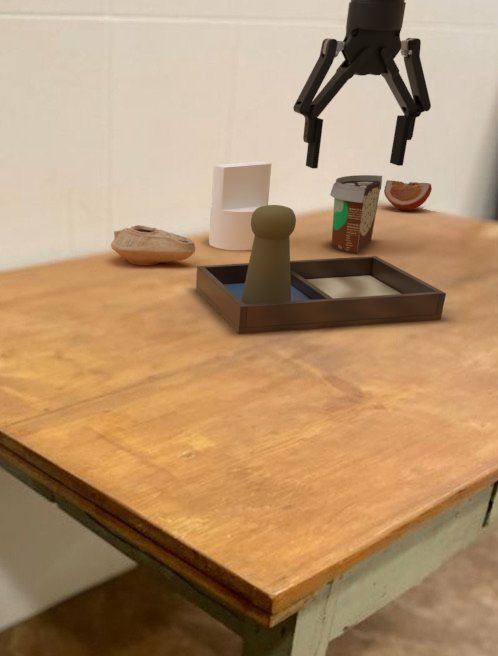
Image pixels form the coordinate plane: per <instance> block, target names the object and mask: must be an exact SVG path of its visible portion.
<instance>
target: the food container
mask: <svg viewBox="0 0 498 656" xmlns="http://www.w3.org/2000/svg"><path fill="white" fill-rule="evenodd" d="M382 184H383V175H377V174H376V175H373V174H358V175H355V174H354V175H346V176H345V175H344V176H341V177H338V178H336V179H335V182H334V183H333V184H332V187H331V190H330V193H329V194H330V196H331V197H332V198H334V199H333V213H332V214H333V216H332V233H331V248H332V249H333V250H335V251H338V252H341V253H345V254H351V255H358V253H359V252H361V250H363V249H364V248H365V247H366V246H367V245H368V244H370V243H371V242H372V240H373V239H372V238H373V234H374V227H375V221H376V216H377V210H378V203H379V199H380V194H381V193H380V192H381V191H382Z"/></svg>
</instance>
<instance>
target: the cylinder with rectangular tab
mask: <svg viewBox="0 0 498 656" xmlns="http://www.w3.org/2000/svg"><path fill="white" fill-rule="evenodd" d="M212 171H213V172H212V173H213V174H212V192H211V205H210V215H209V231H208V232H209V233H208V234H209V235H208V244H209V246H211V247H213V248H216V249H220V250H221V249H222V250H227V251H252V246H253V241H254V236H255V235H254V233H253V231H252V228H251V217H252V214H253V213H254V211H255V210H256V209H257V208H259V207H261V206H266V205H269V199H270V188H271V187H270V186H271V174H272V163H271V162H268V161H263V160H258V161H256V160H255V161H245V162H232V163H222V164H221V163H219V164H213V170H212Z"/></svg>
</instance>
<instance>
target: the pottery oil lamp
mask: <svg viewBox="0 0 498 656" xmlns="http://www.w3.org/2000/svg"><path fill="white" fill-rule="evenodd" d="M113 236H114V237H113V238H114V239H113V241H112V242H111V243H110V247H111V250H113V251H114V252H115V253H117V254H118V255H119V256H120V257H121V258H123V259H124V260H126V261H128V262H129V263H130V264H132V265H137V266H154V265H157V264H159V263H169V262H170V263H171V262H179V261H183V260H187V259H188V258H190V257H191V256H193V254H194V253H195V252H196V245H195V242H194V241H193V240H192V239H190V238H188V237H185V236H182V235H179V234H177V233H173V232H169V231H165V230H163V229H158V228H157V227H150V226H147V225H141V224H138V225H137V224H136V225H133V226H130V227H129V228H128V227H125V228H123V229H119V230H114V231H113Z"/></svg>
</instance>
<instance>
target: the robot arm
mask: <svg viewBox="0 0 498 656" xmlns="http://www.w3.org/2000/svg"><path fill="white" fill-rule="evenodd" d="M406 4H407V2H405V0H350V1H349V2H348V8H347V17H346V25H345V36H344V38H343V40H337V39H336V38H324V40H322V43H321V47H320V53H319V57H318V59H317V60H316V62H315V65H314V66H313V68H312V70H311V72H310V74H309V76H308V78H307V80H306V82H305V84H304V86H303V88H302V89H301V91H300V94H298V97H297V99H296V101H295V103H294V105H293V112H294V113H297V114H299V115H302V116H303V117H304V127H303V134H302V135H303V136H302V140H303V142H304V143H307V151H306V159H305V166H306V167H308V168H310V169H318V167H319V161H320V149H321V143H322V134H323V126H324V125H323V124H324V119H323V118H320V115H321V114H322V113H323V111H324V110H325V109H326V108H327V107H328V106H329V104H330V103H331V102H332V101H333V99H334V98H335V97H336V96H337V95H338V93H339V92H340V91H341V90H342V89H343V88H344V86H345V84H346V83H347V82H348V81H349V80H350V79H353V77H354V76H360V77H361V76H362V77H363V76H367V75H371V76H381V77H383V79H384V80H385V82H386V84H387V86H388V88H389V90H390V91H391V93H392V95H393V97H394V99H395V100H396V102H397V104H398V106H399V108H400V109H401V112H402V113H403V115H397V116H396V122H395V127H394V128H395V129H394V134H393V141H392V147H391V153H390V159H389V164H392V165H395V166H397V167H398V166H399V167H400V166H404V161H405V156H406V155H405V154H406V150H407V143H408V141H412V139H413V137H414V132H415V125H416V119H417V118H419V117H420V116H421V115H422V113H425V112H429V111H430V109H431V107H432V104H431V99H430V95H429V90H428V86H427V82H426V78H425V74H424V70H423V65H422V64H423V63H422V60H421V56H420V55H421V45H422V42H421V39H420V38H419V37H418V38H417V37H408V38H407V37H406V39H404V40H401V31H402V29H403V24H404V17H405V10H406ZM340 53H341V54H342V56H343V59H344V60H343V61H342V63H341V64H339V66H338V67H337V69H336V71H335V73H334V74H333V75H332V77H331V78H330V79H329V81H328V82H327V83H326V84H325V85H324V87H322V89H321V90H320V91H319V89H320V88H321V86H322V84H323V82H324V80H325V78H326V77H327V74H328V73H329V70H330V69H331V67H332V65H333V63H334V60H335V59H336V58H338V56H339V54H340ZM399 53H400V55H401V56H402V58H403V62H404V67H405V71H406V75H407V79H408V80H407V81H408V83H409V87H410V91H411V92H410V91H409V88H408V87H407V85H406V83H405V81H404V79H403V78H402V75H401V74H400V69H399V67H398V65H397V63H396V61H395V58H396V57H397V56H398V54H399ZM318 92H319V93H318Z"/></svg>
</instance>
